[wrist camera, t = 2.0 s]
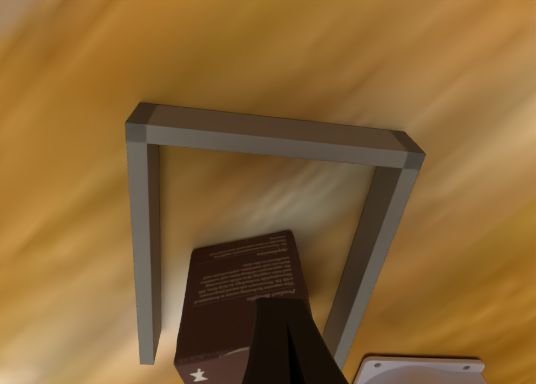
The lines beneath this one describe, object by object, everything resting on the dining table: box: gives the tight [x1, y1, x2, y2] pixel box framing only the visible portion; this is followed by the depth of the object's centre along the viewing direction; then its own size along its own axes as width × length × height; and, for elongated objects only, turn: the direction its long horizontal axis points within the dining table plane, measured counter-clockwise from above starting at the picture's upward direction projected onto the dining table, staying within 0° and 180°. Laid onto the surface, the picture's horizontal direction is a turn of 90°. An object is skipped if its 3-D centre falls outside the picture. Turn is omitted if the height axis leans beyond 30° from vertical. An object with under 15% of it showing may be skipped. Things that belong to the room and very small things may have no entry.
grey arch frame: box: [125, 103, 426, 370], centre depth 20 cm, size 13×15×2 cm
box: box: [174, 231, 312, 384], centre depth 20 cm, size 6×6×7 cm
